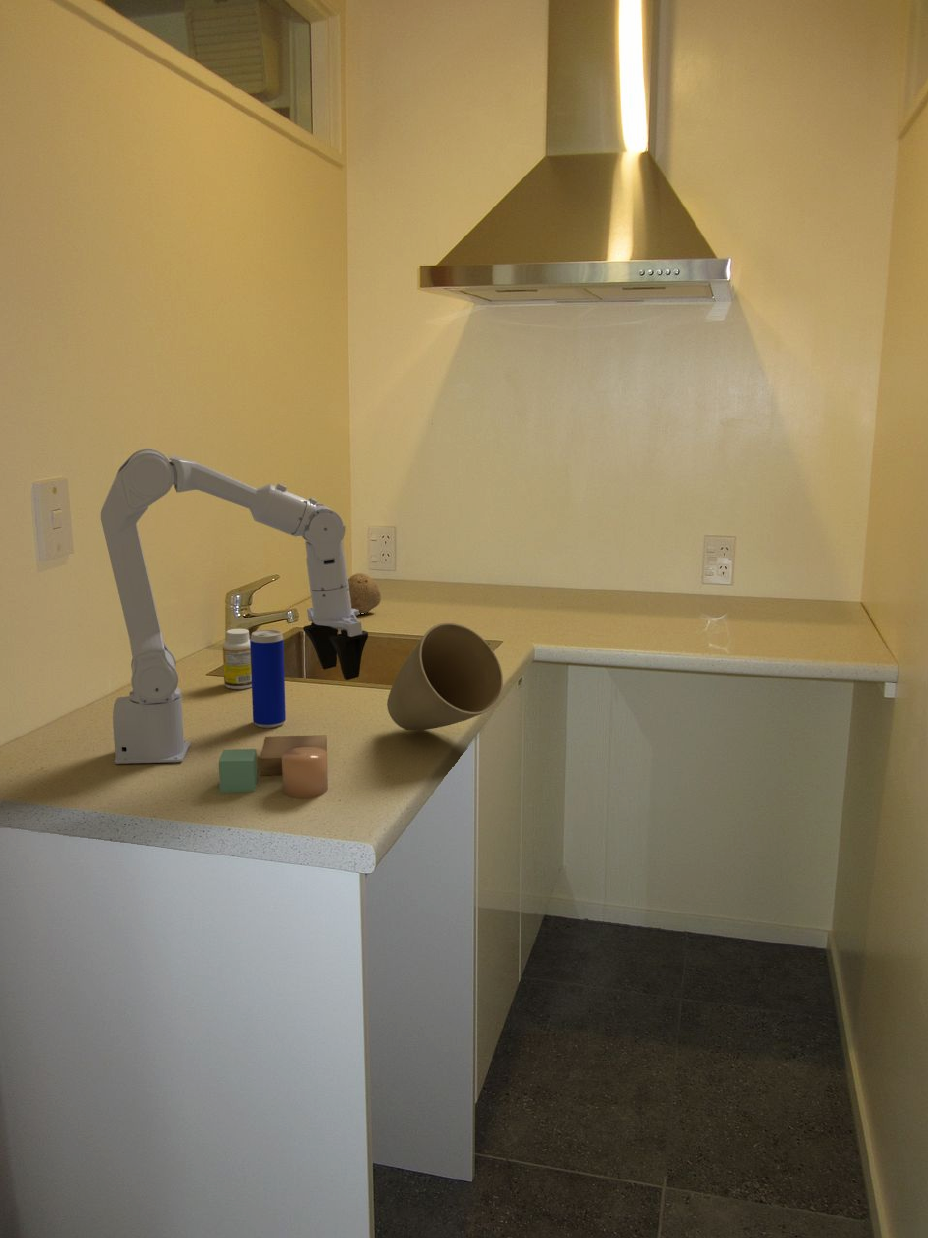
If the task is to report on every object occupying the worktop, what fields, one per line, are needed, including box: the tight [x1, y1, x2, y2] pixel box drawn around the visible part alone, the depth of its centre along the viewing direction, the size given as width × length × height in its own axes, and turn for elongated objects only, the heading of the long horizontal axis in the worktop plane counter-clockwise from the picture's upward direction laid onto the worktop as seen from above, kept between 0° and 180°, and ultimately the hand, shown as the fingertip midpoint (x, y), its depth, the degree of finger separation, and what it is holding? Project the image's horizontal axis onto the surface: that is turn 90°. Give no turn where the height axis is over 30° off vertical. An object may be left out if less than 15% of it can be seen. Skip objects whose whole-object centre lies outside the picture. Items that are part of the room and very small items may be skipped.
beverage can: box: [249, 629, 287, 729], centre depth 161 cm, size 5×5×15 cm
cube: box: [218, 748, 259, 794], centre depth 137 cm, size 4×4×4 cm
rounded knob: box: [281, 747, 329, 799], centre depth 136 cm, size 6×6×5 cm
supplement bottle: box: [222, 628, 252, 690], centre depth 182 cm, size 6×6×10 cm
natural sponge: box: [348, 572, 382, 614], centre depth 241 cm, size 9×9×10 cm
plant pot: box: [386, 622, 504, 732], centre depth 155 cm, size 15×15×16 cm
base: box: [259, 734, 328, 776], centre depth 145 cm, size 9×9×2 cm
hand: (340, 672), depth 154 cm, fingers open, 7 cm apart
